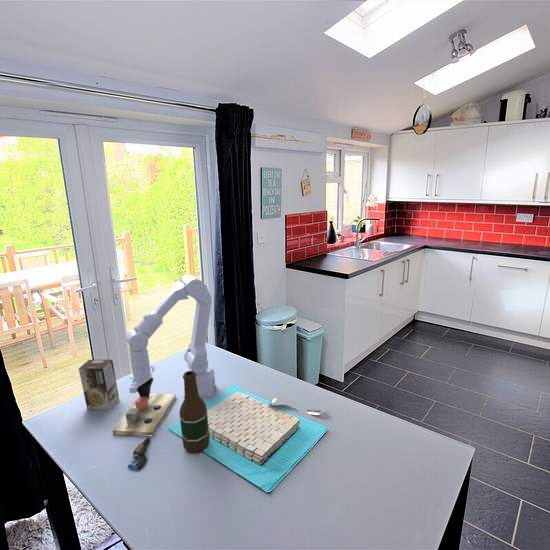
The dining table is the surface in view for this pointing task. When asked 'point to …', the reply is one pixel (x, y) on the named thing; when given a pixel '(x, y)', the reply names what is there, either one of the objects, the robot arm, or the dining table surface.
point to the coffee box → (99, 384)
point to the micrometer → (140, 455)
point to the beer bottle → (193, 417)
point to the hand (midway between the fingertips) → (145, 399)
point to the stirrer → (282, 402)
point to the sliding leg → (143, 403)
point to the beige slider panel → (145, 416)
